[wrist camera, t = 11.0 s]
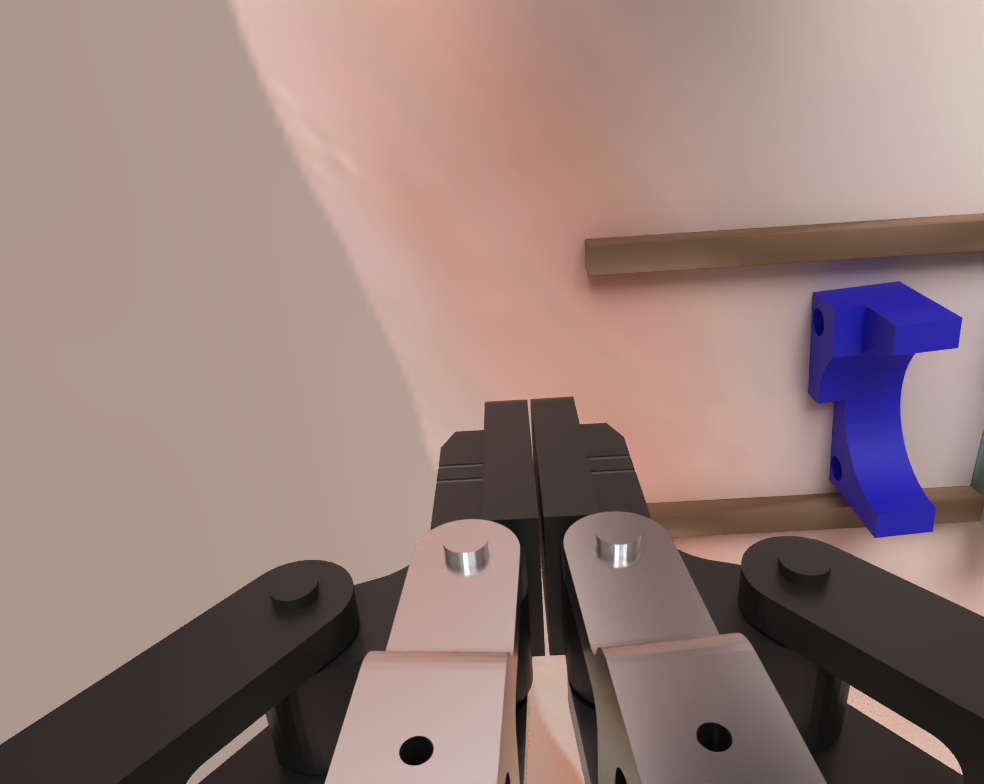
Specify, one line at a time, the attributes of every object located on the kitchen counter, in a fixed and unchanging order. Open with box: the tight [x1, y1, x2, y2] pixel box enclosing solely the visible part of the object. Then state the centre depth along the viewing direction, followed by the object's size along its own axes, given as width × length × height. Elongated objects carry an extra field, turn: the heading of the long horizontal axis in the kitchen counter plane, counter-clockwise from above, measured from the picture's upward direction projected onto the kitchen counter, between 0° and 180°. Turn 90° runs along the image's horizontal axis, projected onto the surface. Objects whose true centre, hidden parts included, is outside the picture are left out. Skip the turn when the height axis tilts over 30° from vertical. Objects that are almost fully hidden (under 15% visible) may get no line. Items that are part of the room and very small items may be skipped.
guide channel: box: [585, 214, 984, 537], centre depth 39 cm, size 18×26×6 cm
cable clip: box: [808, 281, 962, 538], centre depth 39 cm, size 12×4×6 cm, turn 8°
